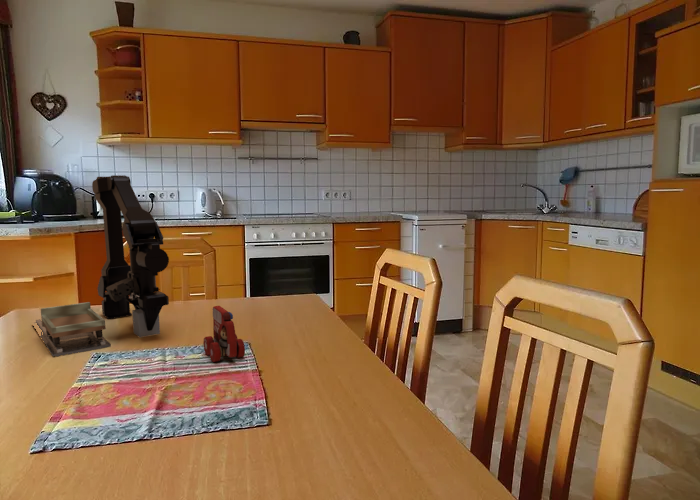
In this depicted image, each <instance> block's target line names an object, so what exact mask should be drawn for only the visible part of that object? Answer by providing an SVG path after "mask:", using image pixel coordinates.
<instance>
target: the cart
mask: <svg viewBox="0 0 700 500" xmlns="http://www.w3.org/2000/svg"><path fill="white" fill-rule="evenodd" d="M40 315H41V316H40V317H41V319H40V320H41V321H42V327H45V328H46V333H47V336H48V335H51V336H52V338H53V343H54V345H60V338H59V337H62V336H68V335H74V334H80V333H86V332H92V331H96V337H97V338H101V337H102V336H103V330H106V329H107V327H106V319H104V318H103V317H102V316H101V315H100V314H98V313H97V312H96V311H95V310H94V309H93V308H92V307H91V302H90V301H87V302H79V303H74V304H73V303H72V304H64V305H57V306H50V307H49V306H48V307H42V308H40ZM103 337H104V336H103Z"/></svg>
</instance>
